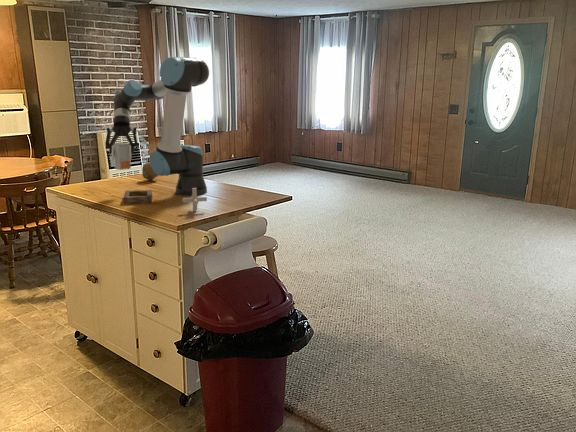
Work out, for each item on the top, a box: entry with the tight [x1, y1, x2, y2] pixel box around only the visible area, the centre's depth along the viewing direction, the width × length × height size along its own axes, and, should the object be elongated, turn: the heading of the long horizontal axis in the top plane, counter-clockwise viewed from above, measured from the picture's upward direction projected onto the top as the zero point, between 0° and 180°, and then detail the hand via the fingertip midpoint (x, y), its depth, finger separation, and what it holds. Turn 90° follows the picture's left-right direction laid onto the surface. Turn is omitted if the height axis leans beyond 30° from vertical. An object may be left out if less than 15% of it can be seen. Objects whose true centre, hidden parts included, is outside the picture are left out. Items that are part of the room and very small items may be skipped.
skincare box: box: [113, 142, 132, 171], centre depth 236 cm, size 6×4×12 cm
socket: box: [122, 189, 153, 205], centre depth 231 cm, size 12×14×3 cm
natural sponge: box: [141, 161, 159, 181], centre depth 272 cm, size 9×9×10 cm
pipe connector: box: [182, 188, 208, 212], centre depth 213 cm, size 10×10×10 cm
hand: (121, 158), depth 233 cm, fingers closed on skincare box, 7 cm apart
